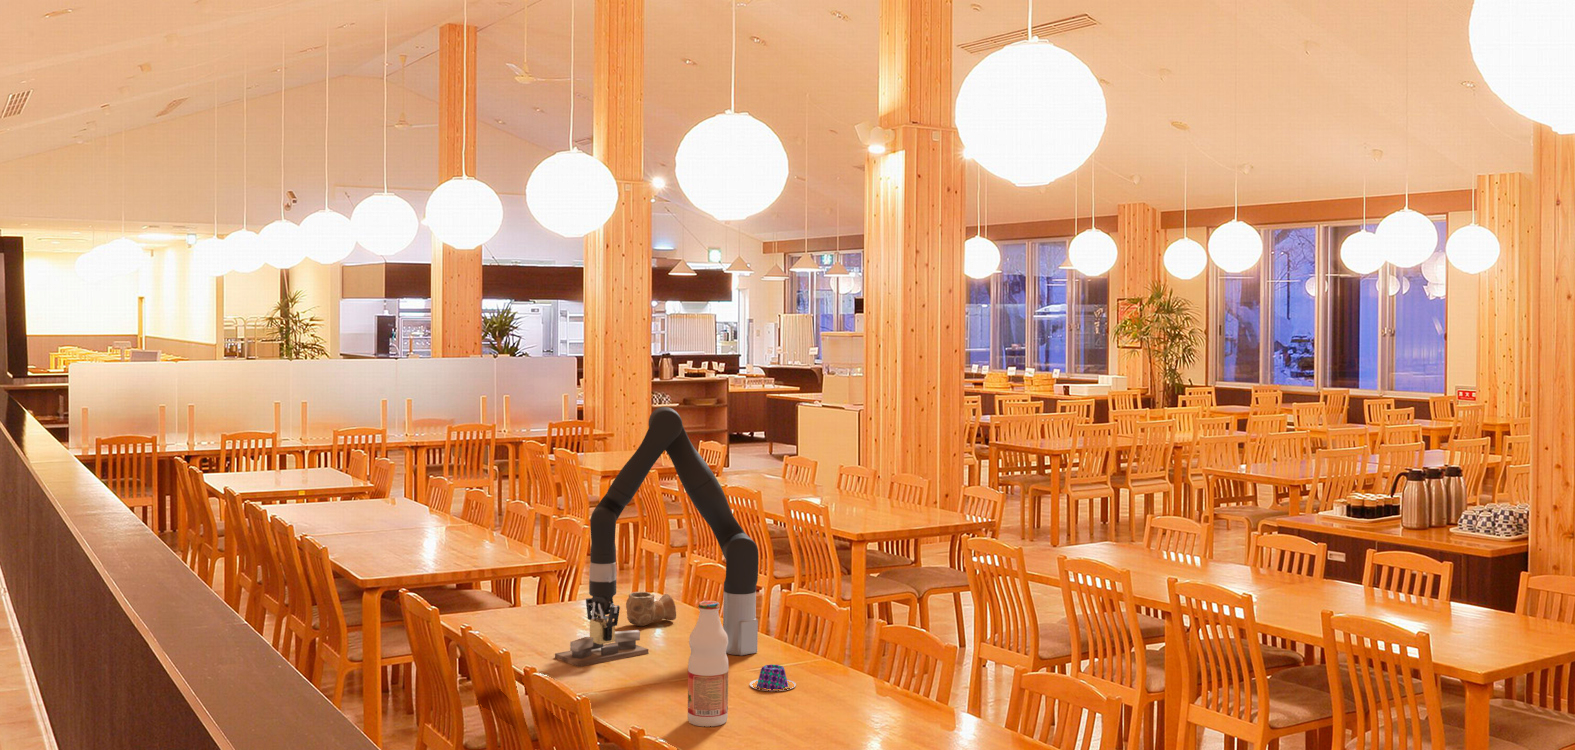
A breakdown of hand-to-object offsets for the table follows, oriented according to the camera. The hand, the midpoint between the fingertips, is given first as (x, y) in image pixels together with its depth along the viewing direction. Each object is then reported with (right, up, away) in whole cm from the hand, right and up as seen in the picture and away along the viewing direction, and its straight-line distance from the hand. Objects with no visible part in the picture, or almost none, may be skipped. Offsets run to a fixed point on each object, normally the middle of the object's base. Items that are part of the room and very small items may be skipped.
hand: (602, 638), depth 355 cm
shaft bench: (0, -5, 0) cm, 5 cm away
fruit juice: (+33, -8, -57) cm, 66 cm away
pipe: (+9, -4, +38) cm, 39 cm away
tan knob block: (0, -1, 0) cm, 1 cm away
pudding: (+48, -7, -27) cm, 55 cm away
